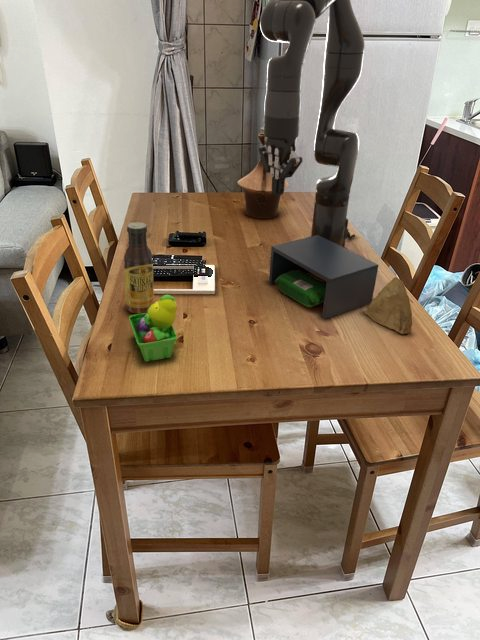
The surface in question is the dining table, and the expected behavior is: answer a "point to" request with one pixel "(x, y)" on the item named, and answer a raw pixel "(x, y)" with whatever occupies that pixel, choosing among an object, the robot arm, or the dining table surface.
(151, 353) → the fruit basket
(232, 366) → the dining table surface
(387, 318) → the rock
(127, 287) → the sauce bottle
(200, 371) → the dining table surface
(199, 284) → the photo frame
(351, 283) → the open shelf stand
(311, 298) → the snack package
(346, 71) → the robot arm
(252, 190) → the brown cone topped pot
